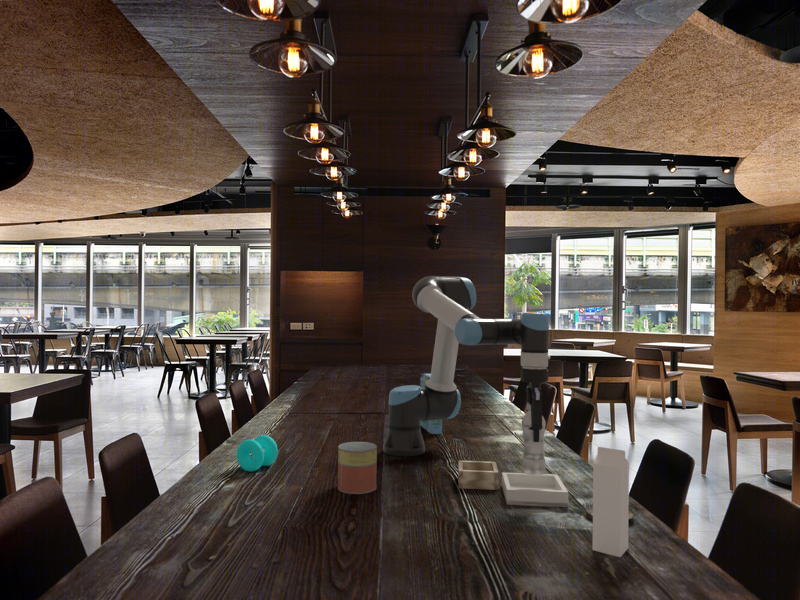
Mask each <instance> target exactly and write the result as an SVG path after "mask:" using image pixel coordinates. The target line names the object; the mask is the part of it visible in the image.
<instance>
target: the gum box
mask: <svg viewBox="0 0 800 600" xmlns="http://www.w3.org/2000/svg"><path fill="white" fill-rule="evenodd" d="M430 376H431V373H420V383H419V384H420V385H419V386H420V387H421V389H425V383H426V381H427V380H429V379H430ZM420 427H422V428H423V429H424V430H425V429H426V431H427V432H428V433H429V434H430V433H431V434H435V435H443V420H433V421H421V424H420ZM431 434H430V435H431Z"/></svg>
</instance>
